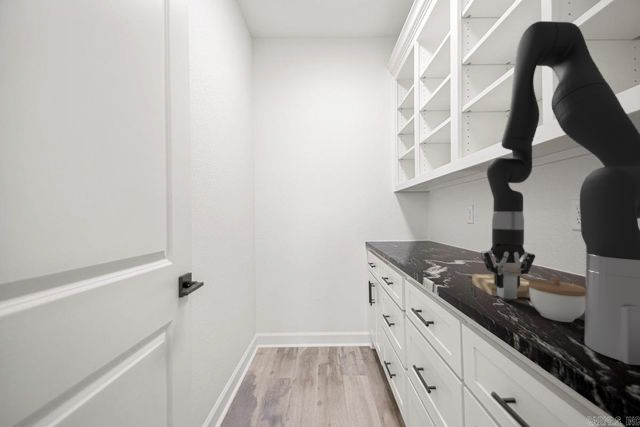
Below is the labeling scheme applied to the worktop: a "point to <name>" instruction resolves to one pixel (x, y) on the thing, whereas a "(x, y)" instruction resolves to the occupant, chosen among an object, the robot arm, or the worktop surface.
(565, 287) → the lidded jar
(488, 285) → the well block
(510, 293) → the grey rectangular block
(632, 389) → the worktop surface
